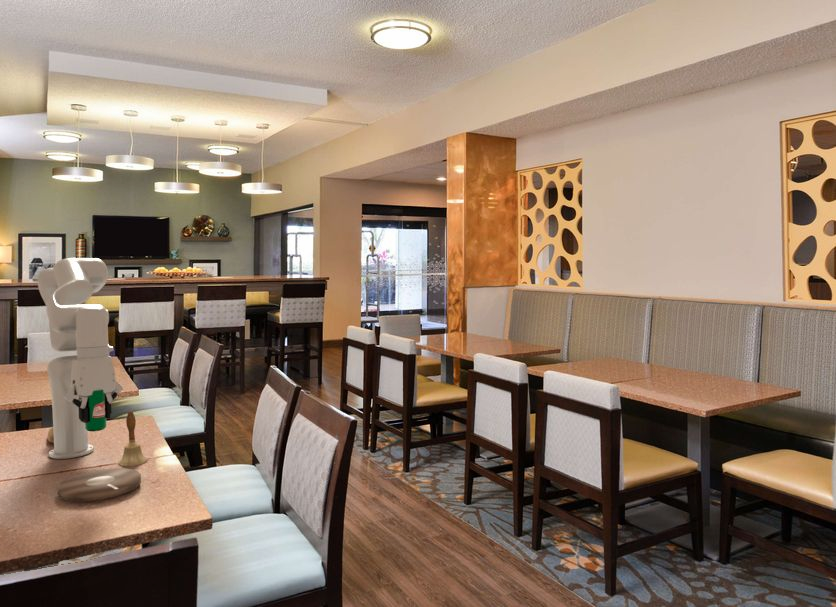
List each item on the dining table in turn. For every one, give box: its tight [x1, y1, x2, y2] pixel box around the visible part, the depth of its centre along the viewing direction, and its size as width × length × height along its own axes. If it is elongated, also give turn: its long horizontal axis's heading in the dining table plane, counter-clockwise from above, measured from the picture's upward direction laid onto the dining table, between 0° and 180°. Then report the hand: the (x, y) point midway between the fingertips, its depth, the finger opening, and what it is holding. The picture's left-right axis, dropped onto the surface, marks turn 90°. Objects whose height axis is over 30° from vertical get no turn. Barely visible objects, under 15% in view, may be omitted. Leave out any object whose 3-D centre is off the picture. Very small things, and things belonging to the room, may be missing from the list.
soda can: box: [85, 389, 107, 432], centre depth 162 cm, size 5×5×12 cm
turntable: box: [57, 467, 142, 502], centre depth 163 cm, size 20×20×2 cm
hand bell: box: [117, 410, 148, 467], centre depth 186 cm, size 8×8×16 cm
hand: (95, 419), depth 162 cm, fingers closed on soda can, 5 cm apart
